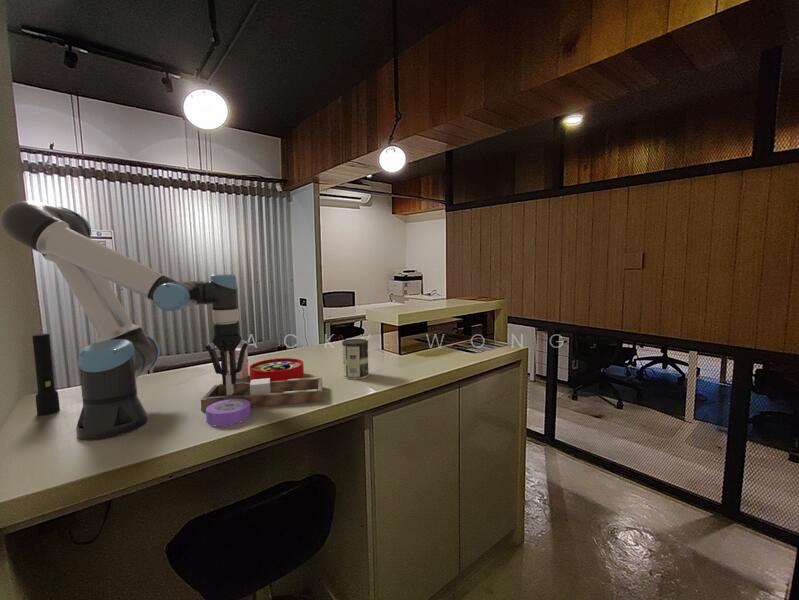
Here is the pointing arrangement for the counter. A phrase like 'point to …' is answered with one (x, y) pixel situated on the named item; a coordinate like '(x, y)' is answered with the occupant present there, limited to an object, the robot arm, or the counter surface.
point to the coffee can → (355, 359)
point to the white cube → (260, 386)
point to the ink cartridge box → (244, 371)
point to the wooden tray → (286, 397)
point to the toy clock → (277, 369)
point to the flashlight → (44, 376)
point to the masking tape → (228, 412)
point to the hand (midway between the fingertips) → (230, 393)
